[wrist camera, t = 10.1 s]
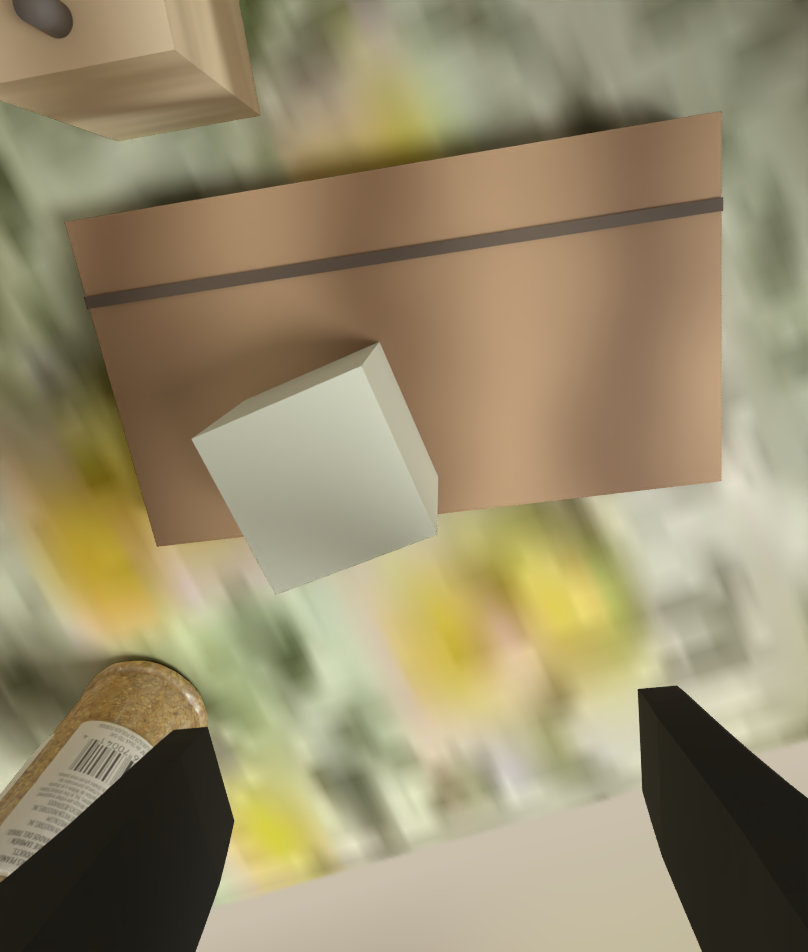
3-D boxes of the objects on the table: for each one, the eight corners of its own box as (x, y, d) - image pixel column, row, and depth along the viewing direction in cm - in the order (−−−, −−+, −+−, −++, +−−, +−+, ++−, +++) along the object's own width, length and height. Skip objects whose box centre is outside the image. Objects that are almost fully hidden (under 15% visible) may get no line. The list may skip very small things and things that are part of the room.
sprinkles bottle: (62, 689, 24) (-380, 1193, 11) (160, 633, 23) (-199, 1114, 10) (142, 779, 25) (-176, 1332, 12) (238, 729, 24) (4, 1274, 11)
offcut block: (379, 341, 17) (361, 365, 13) (438, 477, 18) (436, 534, 14) (244, 400, 18) (191, 438, 14) (308, 527, 19) (275, 595, 15)
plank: (690, 127, 17) (723, 110, 15) (694, 459, 20) (722, 482, 18) (103, 225, 19) (62, 221, 17) (182, 520, 21) (155, 547, 19)
